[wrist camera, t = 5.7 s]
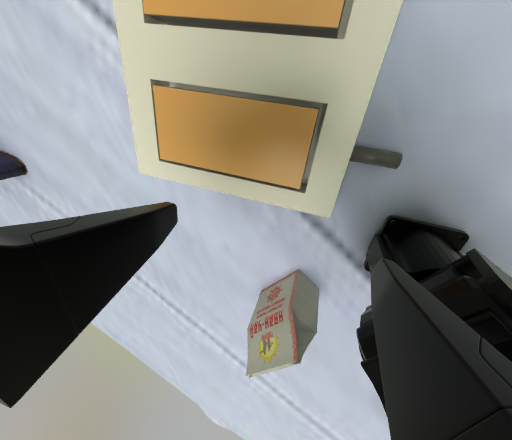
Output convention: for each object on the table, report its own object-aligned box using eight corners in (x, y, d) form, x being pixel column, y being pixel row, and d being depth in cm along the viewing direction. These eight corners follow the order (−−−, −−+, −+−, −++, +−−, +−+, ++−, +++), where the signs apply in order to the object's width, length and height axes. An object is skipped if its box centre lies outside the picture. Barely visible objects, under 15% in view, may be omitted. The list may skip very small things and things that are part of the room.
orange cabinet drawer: (320, 108, 17) (318, 109, 15) (302, 179, 20) (299, 189, 17) (173, 87, 19) (152, 85, 17) (177, 153, 22) (160, 158, 20)
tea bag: (319, 289, 26) (314, 375, 18) (280, 308, 30) (260, 388, 22) (298, 269, 26) (284, 348, 18) (261, 290, 29) (234, 365, 21)
